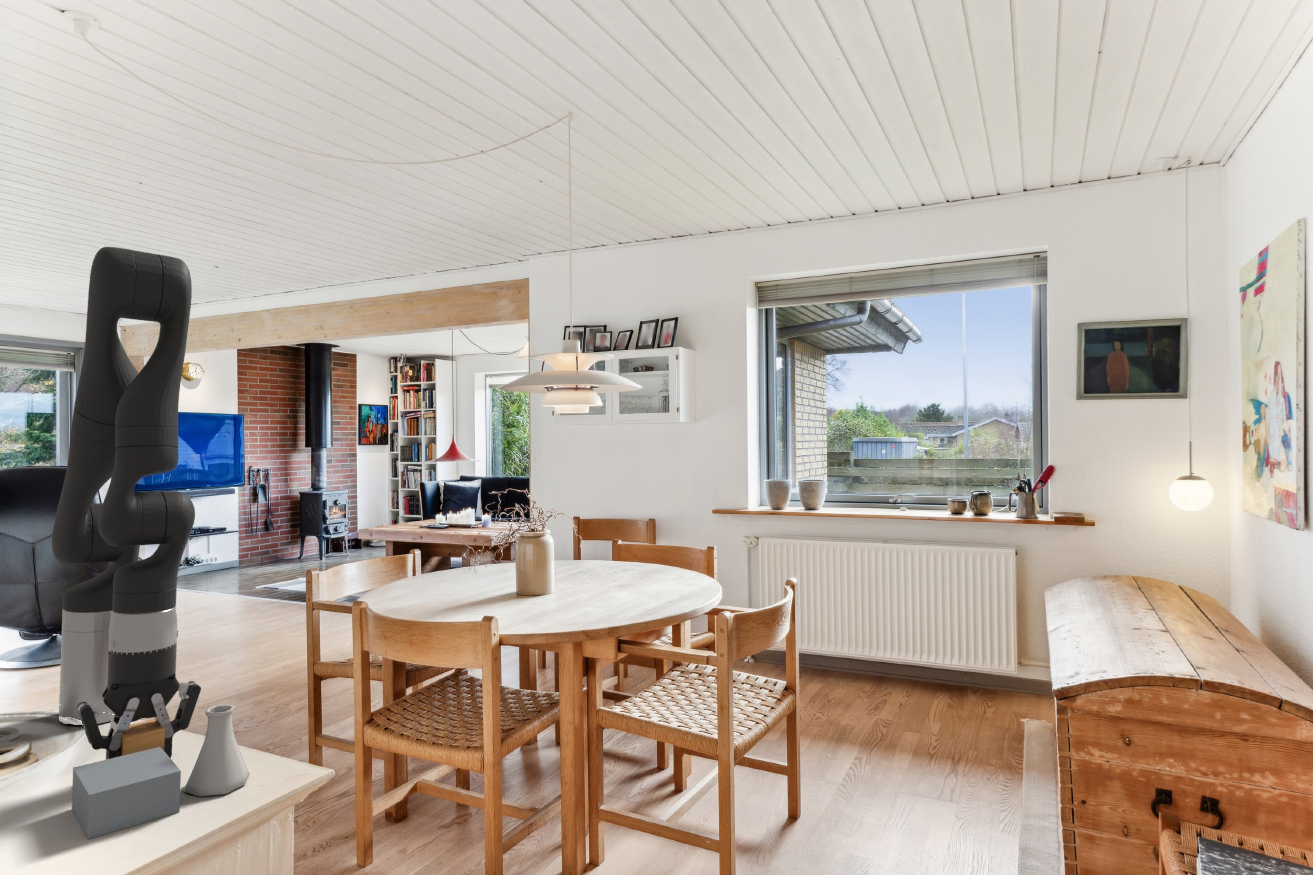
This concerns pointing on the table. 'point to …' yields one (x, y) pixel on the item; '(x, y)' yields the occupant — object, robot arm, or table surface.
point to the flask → (218, 757)
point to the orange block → (142, 737)
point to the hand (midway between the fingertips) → (138, 768)
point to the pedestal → (125, 791)
